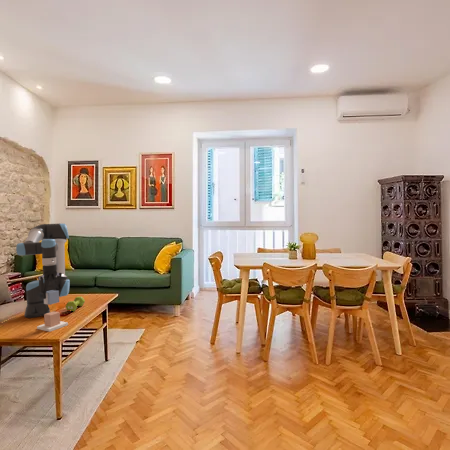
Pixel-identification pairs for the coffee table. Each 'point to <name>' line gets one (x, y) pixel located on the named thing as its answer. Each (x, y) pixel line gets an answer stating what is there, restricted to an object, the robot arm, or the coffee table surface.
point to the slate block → (53, 296)
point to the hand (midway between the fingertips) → (51, 302)
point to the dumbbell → (75, 303)
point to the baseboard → (46, 328)
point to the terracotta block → (52, 318)
